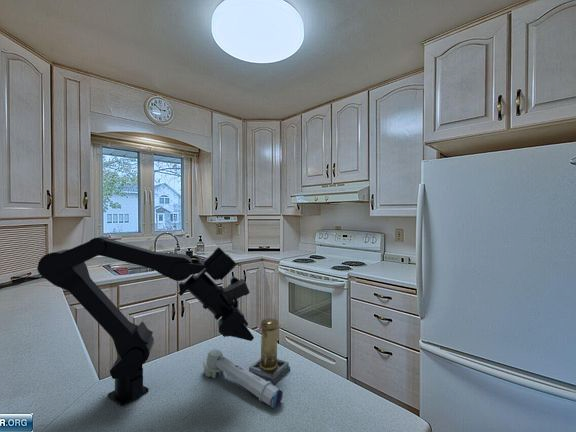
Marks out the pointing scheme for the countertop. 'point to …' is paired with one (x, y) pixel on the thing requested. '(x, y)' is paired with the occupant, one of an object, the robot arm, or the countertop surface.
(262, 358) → the brass domed cylinder
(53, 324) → the countertop surface
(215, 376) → the white long piece
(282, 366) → the shallow square tray
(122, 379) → the robot arm
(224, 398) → the countertop surface
